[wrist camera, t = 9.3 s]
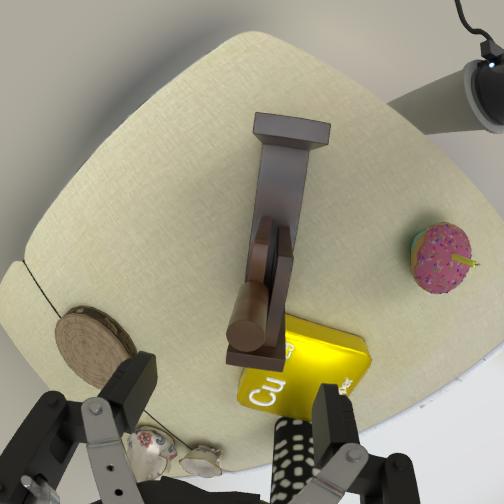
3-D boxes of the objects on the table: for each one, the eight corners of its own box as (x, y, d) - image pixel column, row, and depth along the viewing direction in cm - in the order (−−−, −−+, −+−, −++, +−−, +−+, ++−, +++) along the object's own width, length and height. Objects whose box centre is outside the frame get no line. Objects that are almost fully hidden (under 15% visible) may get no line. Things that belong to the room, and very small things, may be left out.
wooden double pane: (265, 131, 30) (255, 111, 17) (309, 138, 30) (331, 123, 17) (243, 295, 36) (225, 364, 24) (282, 301, 36) (282, 372, 23)
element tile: (323, 406, 42) (325, 427, 37) (236, 384, 41) (232, 406, 37) (370, 338, 37) (379, 359, 32) (271, 307, 37) (269, 328, 32)
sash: (255, 215, 31) (232, 271, 16) (277, 218, 31) (276, 277, 16) (246, 285, 34) (221, 381, 19) (266, 288, 34) (255, 386, 18)
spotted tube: (272, 414, 43) (264, 517, 24) (321, 410, 42) (330, 513, 23) (276, 439, 46) (270, 530, 27) (320, 436, 44) (326, 527, 26)
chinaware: (153, 462, 56) (140, 513, 41) (103, 430, 52) (81, 483, 36) (237, 446, 49) (232, 514, 34) (180, 408, 45) (160, 487, 29)
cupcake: (396, 219, 32) (446, 250, 20) (451, 211, 30) (509, 235, 19) (399, 284, 34) (439, 333, 23) (450, 271, 33) (499, 312, 21)
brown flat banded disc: (152, 384, 44) (146, 395, 41) (85, 377, 46) (78, 386, 43) (118, 303, 39) (109, 313, 36) (52, 306, 41) (42, 314, 38)
